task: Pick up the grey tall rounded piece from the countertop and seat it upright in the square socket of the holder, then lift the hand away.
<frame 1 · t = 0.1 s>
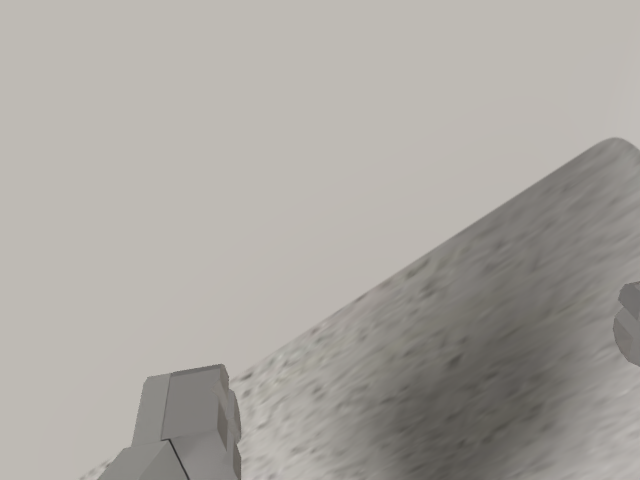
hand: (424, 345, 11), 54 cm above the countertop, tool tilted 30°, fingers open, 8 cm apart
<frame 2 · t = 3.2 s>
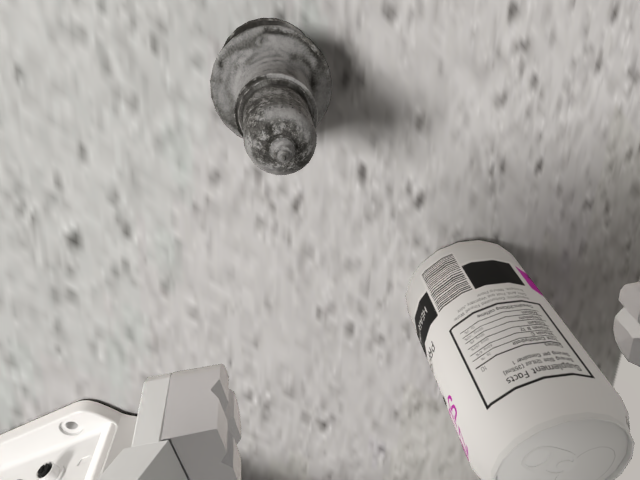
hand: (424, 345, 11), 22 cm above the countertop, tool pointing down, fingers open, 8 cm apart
grey tall rounded piece: (268, 68, 30), on the countertop
supplement can: (458, 281, 39), on the countertop
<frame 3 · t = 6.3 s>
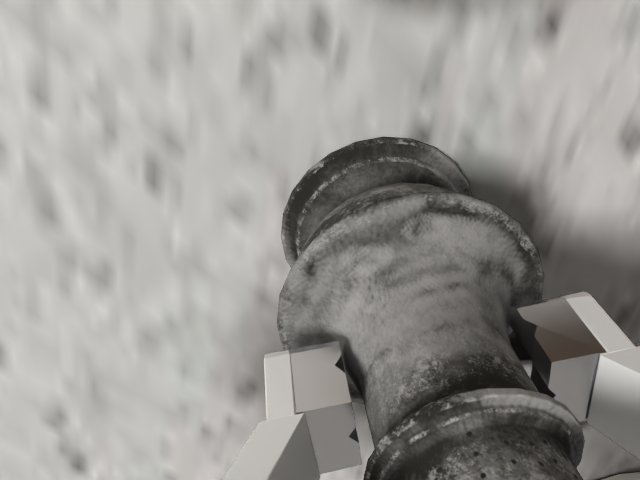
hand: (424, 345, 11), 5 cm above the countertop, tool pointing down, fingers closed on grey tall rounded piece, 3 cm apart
grey tall rounded piece: (376, 224, 15), on the countertop, touching gripper
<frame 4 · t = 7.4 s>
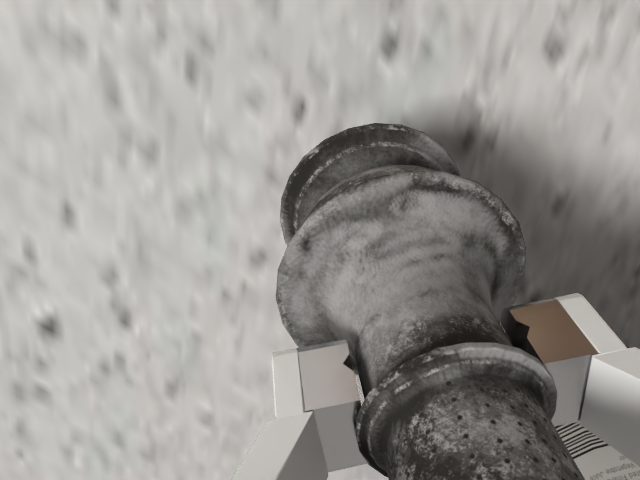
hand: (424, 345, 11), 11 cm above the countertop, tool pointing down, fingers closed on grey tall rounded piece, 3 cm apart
grey tall rounded piece: (370, 207, 16), point 5 cm above the countertop, touching gripper
supplement can: (557, 396, 30), on the countertop
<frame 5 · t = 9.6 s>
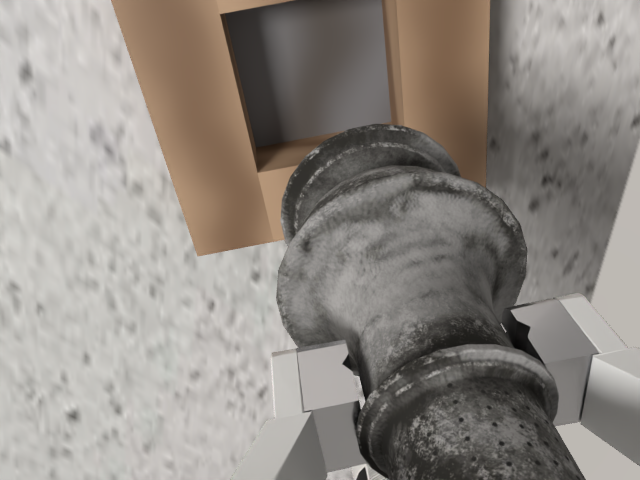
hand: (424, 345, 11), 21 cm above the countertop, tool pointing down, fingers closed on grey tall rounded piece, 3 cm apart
grey tall rounded piece: (371, 208, 16), point 15 cm above the countertop, touching gripper
supplement can: (395, 444, 47), on the countertop
holder: (312, 64, 28), on the countertop
when the fingers open (6 cm above the countertop, at t = 12.3 s): grey tall rounded piece stays where it is, resting on holder.
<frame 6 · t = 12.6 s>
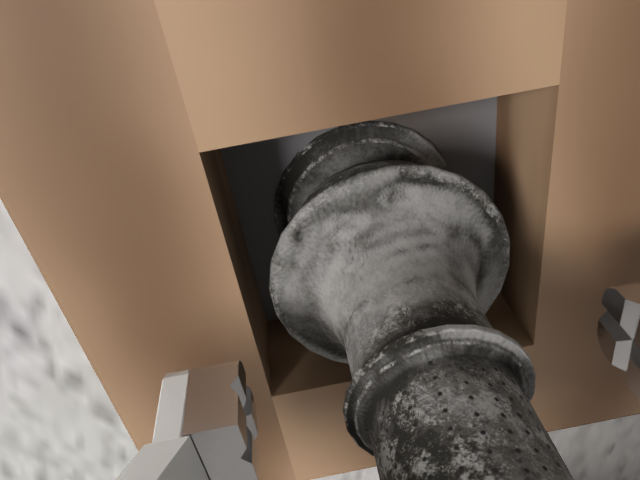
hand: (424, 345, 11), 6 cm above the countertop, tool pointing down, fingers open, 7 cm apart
grey tall rounded piece: (362, 203, 16), resting on holder
holder: (366, 196, 16), on the countertop
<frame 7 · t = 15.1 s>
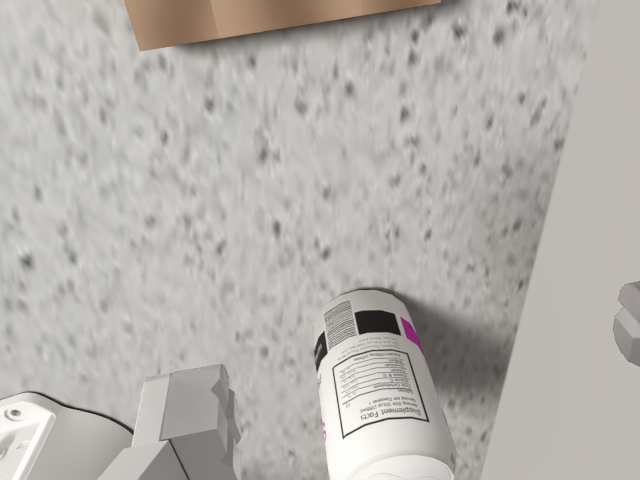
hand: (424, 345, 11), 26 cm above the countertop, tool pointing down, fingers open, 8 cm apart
supplement can: (359, 320, 46), on the countertop
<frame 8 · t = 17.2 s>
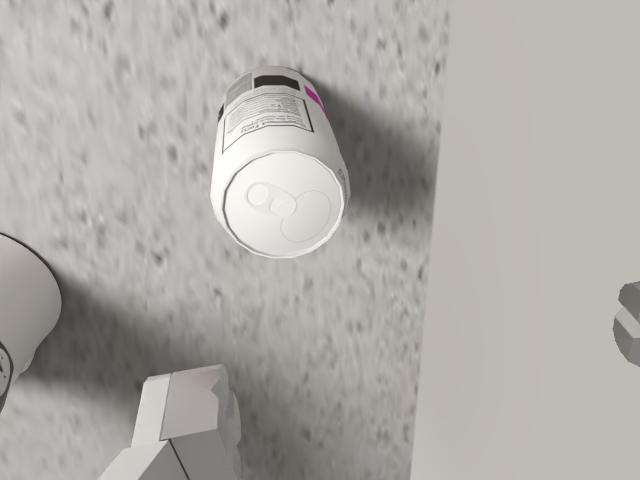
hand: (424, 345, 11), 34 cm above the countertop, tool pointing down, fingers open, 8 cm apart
supplement can: (270, 114, 44), on the countertop
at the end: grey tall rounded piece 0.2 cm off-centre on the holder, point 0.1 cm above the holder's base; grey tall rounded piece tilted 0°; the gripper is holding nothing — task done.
